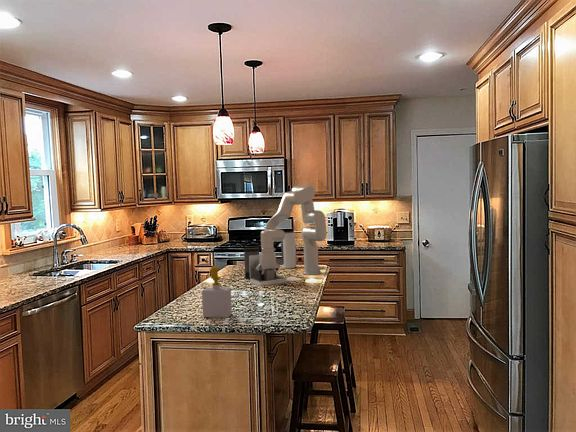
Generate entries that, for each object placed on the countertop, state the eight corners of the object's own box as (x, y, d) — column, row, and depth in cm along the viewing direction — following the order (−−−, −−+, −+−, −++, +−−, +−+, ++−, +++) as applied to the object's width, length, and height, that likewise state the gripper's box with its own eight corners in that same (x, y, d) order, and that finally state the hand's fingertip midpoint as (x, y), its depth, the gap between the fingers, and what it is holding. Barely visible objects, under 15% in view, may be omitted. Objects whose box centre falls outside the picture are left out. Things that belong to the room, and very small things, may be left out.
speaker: (282, 266, 363) (281, 231, 361) (296, 266, 362) (295, 230, 360) (281, 268, 352) (280, 232, 351) (295, 268, 351) (294, 232, 350)
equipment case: (276, 279, 312) (275, 252, 311) (287, 283, 299) (286, 255, 298) (250, 283, 303) (249, 255, 302) (260, 286, 291) (259, 258, 290)
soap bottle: (232, 314, 230) (230, 264, 228) (228, 318, 223) (226, 267, 222) (207, 314, 232) (205, 264, 230) (202, 317, 225) (200, 267, 224)
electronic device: (260, 278, 319) (259, 247, 318) (259, 279, 313) (258, 248, 312) (246, 278, 320) (245, 247, 319) (244, 279, 314) (243, 248, 313)
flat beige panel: (293, 277, 316) (293, 276, 316) (303, 280, 306) (303, 279, 306) (280, 279, 312) (279, 278, 312) (289, 282, 301) (289, 281, 301)
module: (269, 281, 305) (269, 268, 305) (274, 282, 299) (274, 269, 299) (262, 282, 303) (262, 269, 302) (267, 283, 297) (267, 270, 296)
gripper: (277, 248, 307) (278, 277, 308) (251, 251, 299) (253, 280, 300) (283, 250, 301) (283, 278, 302) (257, 252, 292) (258, 282, 293)
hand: (268, 279), depth 301 cm, fingers open, 7 cm apart
